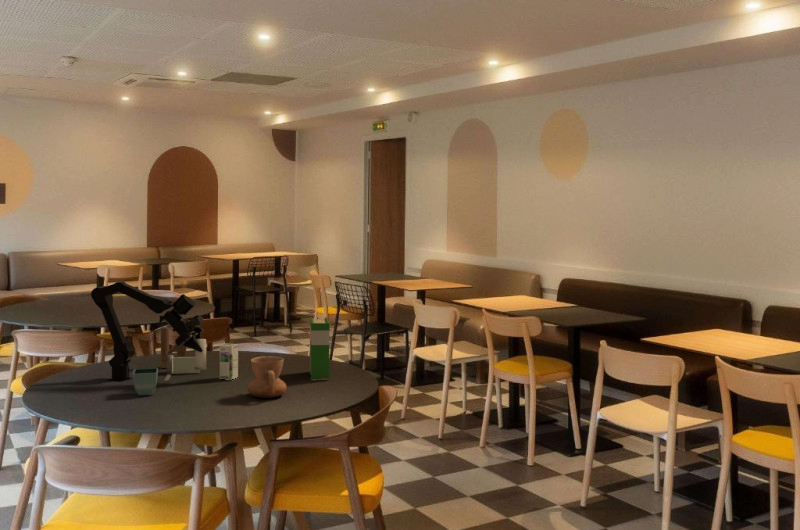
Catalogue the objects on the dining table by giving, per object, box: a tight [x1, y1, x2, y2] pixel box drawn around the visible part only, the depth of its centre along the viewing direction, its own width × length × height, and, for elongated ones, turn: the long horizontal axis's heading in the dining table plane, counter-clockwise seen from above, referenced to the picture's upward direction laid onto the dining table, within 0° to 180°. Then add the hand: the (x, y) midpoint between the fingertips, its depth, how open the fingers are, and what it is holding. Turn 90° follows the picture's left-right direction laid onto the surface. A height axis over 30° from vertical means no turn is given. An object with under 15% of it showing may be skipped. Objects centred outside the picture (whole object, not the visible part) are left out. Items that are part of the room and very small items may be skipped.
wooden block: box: [159, 326, 187, 370], centre depth 330 cm, size 4×11×18 cm, turn 111°
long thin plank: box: [163, 354, 174, 382], centre depth 314 cm, size 18×2×8 cm, turn 11°
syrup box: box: [219, 343, 239, 381], centre depth 310 cm, size 6×6×14 cm
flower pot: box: [131, 367, 159, 396], centre depth 283 cm, size 9×9×9 cm
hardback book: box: [309, 316, 330, 380], centre depth 317 cm, size 18×7×24 cm, turn 9°
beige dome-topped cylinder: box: [194, 338, 208, 371], centre depth 304 cm, size 5×5×12 cm
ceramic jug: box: [247, 355, 287, 399], centre depth 282 cm, size 18×14×14 cm
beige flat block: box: [172, 356, 201, 375], centre depth 319 cm, size 11×2×7 cm, turn 101°
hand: (204, 350), depth 303 cm, fingers closed on beige dome-topped cylinder, 4 cm apart
